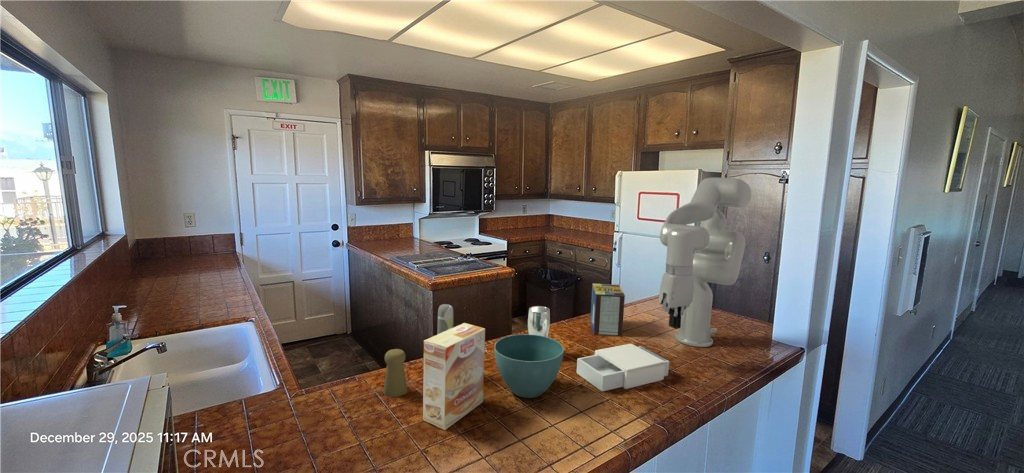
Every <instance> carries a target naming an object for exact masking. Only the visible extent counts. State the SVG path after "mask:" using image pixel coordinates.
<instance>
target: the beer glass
mask: <svg viewBox="0 0 1024 473" xmlns="http://www.w3.org/2000/svg"><path fill="white" fill-rule="evenodd" d="M550 313H551V312H550V308H549V307H546V306H541V305H534V306H531V307H529V308H528V316H527V317H528V318H527V331H528V334H531V335H540V336H545V337H549V336H548V335H549V331H550V324H551V317H550V316H551V314H550Z"/></svg>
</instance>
